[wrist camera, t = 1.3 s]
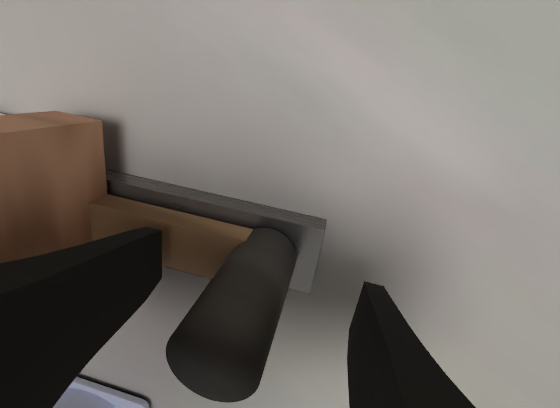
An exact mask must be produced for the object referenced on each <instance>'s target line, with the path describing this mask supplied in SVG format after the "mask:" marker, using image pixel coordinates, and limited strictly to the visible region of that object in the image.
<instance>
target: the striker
mask: <svg viewBox="0 0 560 408" xmlns="http://www.w3.org/2000/svg"><path fill="white" fill-rule="evenodd" d="M142 227H150V228H154V229H158V230H162V266H165V267H168V268H172V269H176V270H180V271H183V272H187V273H191V274H194V275H198V276H202V277H206V278H209V279H212V280H211V281H210V283H209V284H208V285H207V287H206V288H205V290H204V291H203V292H202V294H201V295H200V297H199V298H198V299H197V301H196V302H195V303H194V305H193V306H192V308H191V309H190V310H189V312H188V313H187V315H186V316H185V317H184V319H183V320H182V322H181V323H180V324H179V326H178V327H177V329H176V330H175V331H174V333H173V334H172V336H171V337H170V338H169V340H168V342H167V346H166V357H167V361H168V364H169V366H170V368H171V370H172V372H173V373H174V375H175V376H176V377H177V378H178V380H179V381H180V382H181V383H182V384H183V385H185V386H186V387H187V388H188V389H190V390H191V391H193V392H195V393H196V394H198V395H200V396H202V397H205V398H207V399H210V400H214V401H219V402H237V401H241V400H244V399H246V398H248V397H250V396H251V395H252V394H253V393H254V392H255V391H256V390H257V388H258V386H259V384H260V381H261V377H262V374H263V371H264V367H265V364H266V361H267V357H268V354H269V351H270V348H271V344H272V341H273V338H274V334H275V331H276V328H277V324H278V321H279V318H280V314H281V311H282V308H283V304H284V301H285V298H286V295H287V291H288V288H289V285H290V281H291V278H292V275H293V271H294V268H295V265H296V251H295V248H294V246H293V244H292V243H291V241H290V240H289V239H288V238H287V237H286V236H285V235H283V234H282V233H280V232H279V231H276V230H274V229H270V228H256V229H250V228H246V227H242V226H238V225H234V224H230V223H225V222H221V221H217V220H213V219H209V218H205V217H200V216H196V215H192V214H188V213H184V212H180V211H175V210H171V209H167V208H163V207H159V206H155V205H150V204H146V203H142V202H138V201H134V200H130V199H125V198H121V197H117V196H113V195H109V194H107V183H106V170H105V156H104V142H103V128H102V120H98V119H93V118H88V117H83V116H78V115H73V114H68V113H63V112H58V111H50V112H37V113H24V114H11V115H0V263H4V262H9V261H14V260H19V259H24V258H29V257H33V256H38V255H42V254H46V253H50V252H54V251H58V250H62V249H66V248H69V247H73V246H77V245H81V244H84V243H88V242H91V241H95V240H98V239H102V238H105V237H109V236H112V235H115V234H119V233H122V232H126V231H130V230H133V229H137V228H142Z"/></svg>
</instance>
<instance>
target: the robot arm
mask: <svg viewBox="0 0 560 408" xmlns="http://www.w3.org/2000/svg"><path fill="white" fill-rule="evenodd" d="M161 278H162V230H158V229H154V228H150V227H142V228H137V229H133V230H130V231H126V232H122V233H119V234H115V235H112V236H109V237H105V238H102V239H98V240H95V241H91V242H88V243H84V244H81V245H77V246H73V247H69V248H66V249H62V250H58V251H54V252H50V253H46V254H42V255H38V256H33V257H29V258H24V259H19V260H14V261H9V262H4V263H0V408H149V404H148V402H147V401H145V400H144V399H141V398H138V397H135V396H132V395H129V394H126V393H123V392H121V391H118V390H115V389H112V388H109V387H106V386H103V385H100V384H97V383H94V382H91V381H88V380H85V379H82V378H79V377H77V376H78V374H79V373H80V372H81V371H82V369H83V368H84V367H85V366H86V364H87V363H88V362H89V361H90V360H91V359H92V358H93V356H94V355H95V354H96V353H97V352H98V351H99V350H100V349H101V348H102V347H103V346H104V344H105V343H106V342H107V341H108V340H109V339H110V338H111V337H112V336H113V335H114V334H115V333H116V332H117V331H118V330H119V329H120V328H121V326H122V325H123V324H124V323H125V322H126V321H127V320H128V319H129V318H130V317H131V316H132V315H133V314H134V313H135V312H136V310H137V309H138V308H139V307H140V306H141V305H142V304H143V303H144V302H145V301H146V299H147V298H148V297H149V295H150V294H151V293H152V291H153V290H154V288H155V287H156V285H157V284H158V283H159V281H160V280H161ZM347 365H348V387H349V406H350V408H476V407H475V406H474V405H473V404H472V403H471V402H470V401H469V400H468V399H467V398H466V396H465V395H464V394H463V393H462V392H461V391H460V390H459V389H458V387H457V386H456V385H455V384H454V383H453V382H452V381H451V380H450V378H449V377H448V376H447V375H446V374H445V372H444V371H443V370H442V369H441V368H440V366H439V365H438V364H437V362H436V361H435V360H434V359H433V357H432V356H431V355H430V353H429V352H428V351H427V350H426V348H425V347H424V346H423V344H422V343H421V342H420V340H419V339H418V337H417V336H416V335H415V333H414V332H413V330H412V329H411V327H410V326H409V325H408V323H407V322H406V320H405V319H404V317H403V316H402V314H401V313H400V311H399V310H398V308H397V306H396V305H395V303H394V302H393V300H392V299H391V297H390V295H389V294H388V292H387V291H386V289H385V288H384V286H380V285H377V284H373V283H369V282H365V281H364V284H363V287H362V291H361V294H360V297H359V300H358V303H357V306H356V310H355V313H354V316H353V319H352V322H351V325H350V328H349V339H348V355H347Z"/></svg>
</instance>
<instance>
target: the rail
mask: <svg viewBox="0 0 560 408" xmlns="http://www.w3.org/2000/svg"><path fill="white" fill-rule="evenodd" d="M105 170H106V169H105ZM106 183H107V194H109V195H113V196H117V197H121V198H125V199H130V200H134V201H138V202H142V203H146V204H150V205H155V206H159V207H163V208H167V209H171V210H175V211H180V212H184V213H188V214H192V215H196V216H200V217H205V218H209V219H213V220H217V221H221V222H225V223H230V224H234V225H238V226H242V227H246V228H250V229H256V228H270V229H274V230H276V231H279V232H280V233H282V234H283V235H285V236H286V237H287V238H288V239H289V240H290V241H291V243H292V244H293V246H294V248H295V251H296V265H295V268H294V271H293V275H292V278H291V281H290V285H289V289H293V290H296V291H300V292H304V293H308V294H310V291H311V287H312V283H313V278H314V274H315V270H316V266H317V262H318V257H319V253H320V249H321V245H322V240H323V236H324V232H325V227H326V221H327V220H325V219H321V218H316V217H312V216H308V215H303V214H299V213H295V212H290V211H286V210H281V209H277V208H273V207H268V206H264V205H259V204H255V203H251V202H246V201H242V200H237V199H233V198H229V197H224V196H220V195H215V194H211V193H207V192H202V191H198V190H193V189H189V188H185V187H180V186H176V185H172V184H167V183H163V182H158V181H154V180H150V179H145V178H141V177H136V176H132V175H128V174H123V173H119V172H114V171H110V170H106Z"/></svg>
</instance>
